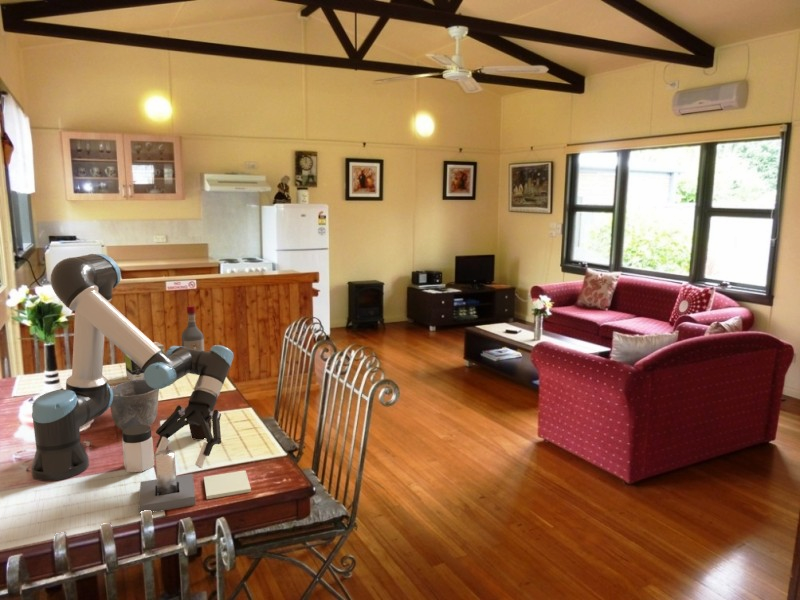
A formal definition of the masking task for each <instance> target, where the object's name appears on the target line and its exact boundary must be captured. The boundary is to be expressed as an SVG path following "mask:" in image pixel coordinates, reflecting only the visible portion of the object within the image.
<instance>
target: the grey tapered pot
mask: <svg viewBox="0 0 800 600" xmlns="http://www.w3.org/2000/svg"><path fill="white" fill-rule="evenodd" d="M109 387H110V388H111V389H112V391H113V401H112V404H111V406H110V407H109V409H110V412H111V417H112V420H113V423H114V425H116V427H117V428H118V429H119V430H122V431H123V430H124V429H126V428H128V427H131V426H136V425H147V426H150V427H151V426H152V424H153V423H154V422H155V420H156V418H157V415H158V406H159V405H158V404H159V392H160V389H154V388H151V387H150V386H148V385H147V383H146V381H145V380H132V381H131V380H128V381H123V382H122V383H117V384H116V385H114V386H113V385H112V386H109Z"/></svg>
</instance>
